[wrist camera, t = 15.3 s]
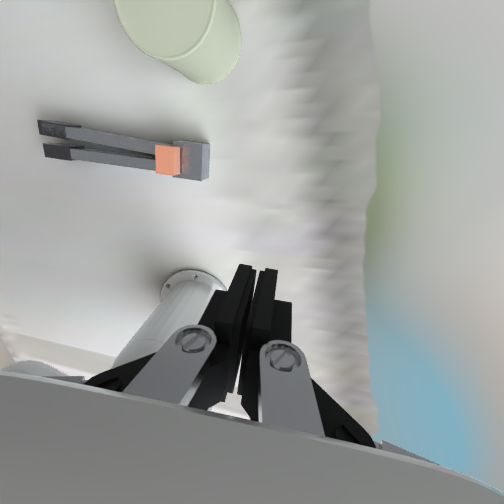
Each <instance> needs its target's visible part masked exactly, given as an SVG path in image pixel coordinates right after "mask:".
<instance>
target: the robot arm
mask: <svg viewBox="0 0 504 504" xmlns="http://www.w3.org/2000/svg"><path fill="white" fill-rule="evenodd" d="M277 274H278V270H274V269H268V268H265V271H260V273H259V277H258V281H257V285H256V289H255V293H254V297H253V292H254V285H255V277H256V270H254V269H252V266H250V265H244V264H239V266H238V269H237V271H236V273H235V276H234V278H233V280H232V282H231V285H230V287H229V289H228V291H226V289H225V287H224V286H223V285H222V284H221V283H220V282H219V281H218V280H217V279H216V278H214V277H213V276H211V275H209V274H207V273H204V272H201V271H197V270H185V271H181V272H178V273H176V274H174V275H172V276H171V277H170V278H169V279H168V280H167V281H166V282H165V284H164V286H163V288H162V290H161V303H160V304H159V305H158V307H157V308H156V309H155V310H154V312H153V313H152V314H151V315H150V317H149V318H148V319H147V320H146V321H145V323H144V324H143V325H142V326H141V328H140V329H139V330H138V331H137V333H136V334H135V335H134V336H133V337H132V339H131V340H130V341H129V342H128V344H127V345H126V346H125V347H124V349H123V350H122V351H121V352H120V354H119V355H118V356H117V358H116V359H115V361H114V363H113V365H112V368H111V369H110V370H107V371H105V372H102V373H100V374H98V375H96V376H94V377H92V378H91V379H89V380H85V377H84V376H68V375H67V374H65V373H63V372H61V371H59V370H57V369H56V368H54V367H52V366H50V365H47V364H45V363H42V362H39V361H32V360H26V361H20V362H16V363H13V364H11V365H9V366H7V367H5V368H3V369H1V370H0V504H504V492H502V491H500V490H499V489H497V488H495V487H493V486H490V485H488V484H486V483H483V482H481V481H479V480H477V479H475V478H473V477H470V476H468V475H466V474H463V473H460V472H457V471H455V470H452V469H449V468H446V467H443V466H441V465H439V464H436V463H434V462H431V461H429V460H427V459H425V458H422V457H420V456H418V455H416V454H413V453H411V452H409V451H406V450H404V449H402V448H399V447H397V446H395V445H392V444H390V443H388V442H386V441H383V440H382V441H381V443H380V444H379V443H377V442H375V441H373V440H372V438H371V436H370V435H369V434H368V433H367V432H366V431H365V429H364V428H363V427H362V426H361V425H360V424H358V423H357V422H356V421H355V420H354V419H353V418H352V417H351V416H350V415H349V414H348V413H347V412H346V411H345V410H344V409H343V408H342V407H341V406H340V405H339V404H338V403H337V402H336V401H334V400H333V399H332V398H331V397H330V396H329V395H328V394H327V393H326V392H325V391H324V390H323V389H322V388H321V387H320V386H319V385H318V384H317V383H316V382H315V381H314V380H313V379H312V378H311V377H310V373H309V369H308V365H307V361H306V358H305V355H304V353H303V352H302V351H301V350H300V348H298V347H297V346H296V345H294V344H292V343H291V327H292V303H291V302H285V301H280V300H274V299H275V290H276V282H277ZM241 357H242V361H241ZM240 361H241V368H240V376H239V384H238V392H237V394H238V395H242V400H241V405H242V407H243V408H244V410H245V411H246V412H247V414H248V415H249V420H247V419H243V418H238V417H234V416H229V415H224V414H220V413H215V412H211V409H212V406H213V405H215V404H217V403H219V402H220V401H221V402H225V399H226V395H227V392H228V393H233V390H234V386H235V382H236V378H237V373H238V369H239V365H240Z"/></svg>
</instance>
